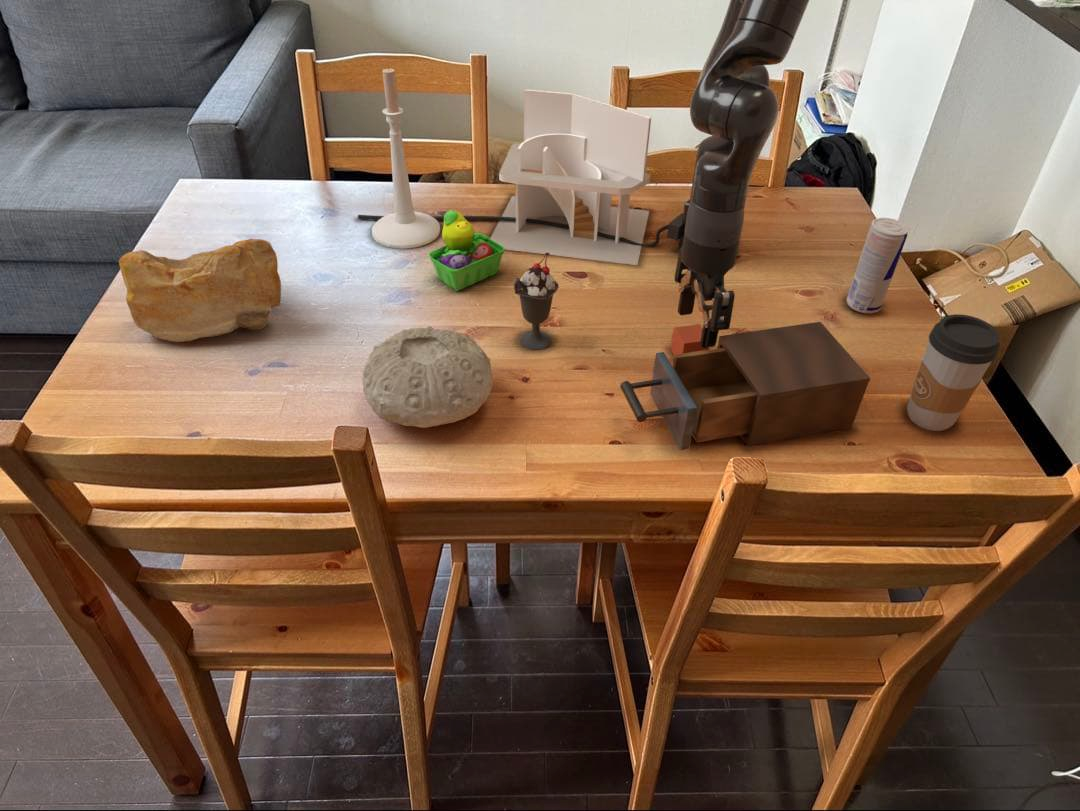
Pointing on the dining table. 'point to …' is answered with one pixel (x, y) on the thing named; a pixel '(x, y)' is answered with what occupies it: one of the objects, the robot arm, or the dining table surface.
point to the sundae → (536, 303)
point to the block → (687, 339)
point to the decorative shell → (427, 377)
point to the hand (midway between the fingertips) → (695, 329)
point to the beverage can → (877, 264)
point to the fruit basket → (464, 253)
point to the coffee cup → (951, 370)
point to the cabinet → (797, 381)
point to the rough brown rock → (202, 290)
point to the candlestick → (401, 187)
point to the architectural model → (576, 179)
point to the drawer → (697, 396)
